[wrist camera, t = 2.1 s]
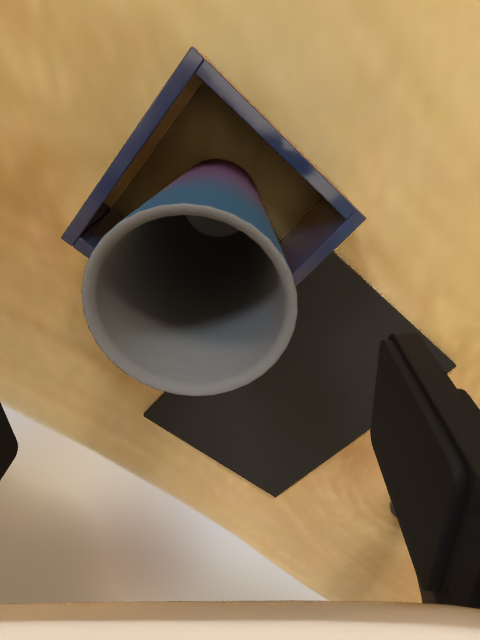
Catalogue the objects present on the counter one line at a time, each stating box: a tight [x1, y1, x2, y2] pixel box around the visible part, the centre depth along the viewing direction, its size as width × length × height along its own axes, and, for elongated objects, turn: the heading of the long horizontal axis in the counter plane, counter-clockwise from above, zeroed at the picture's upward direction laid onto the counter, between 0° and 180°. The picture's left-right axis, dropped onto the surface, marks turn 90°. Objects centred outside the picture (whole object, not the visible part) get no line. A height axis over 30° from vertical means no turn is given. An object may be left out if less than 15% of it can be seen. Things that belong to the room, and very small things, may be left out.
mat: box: [144, 251, 456, 497], centre depth 33 cm, size 15×20×1 cm
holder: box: [61, 47, 366, 287], centre depth 24 cm, size 11×11×6 cm
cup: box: [82, 159, 298, 396], centre depth 20 cm, size 7×7×15 cm
